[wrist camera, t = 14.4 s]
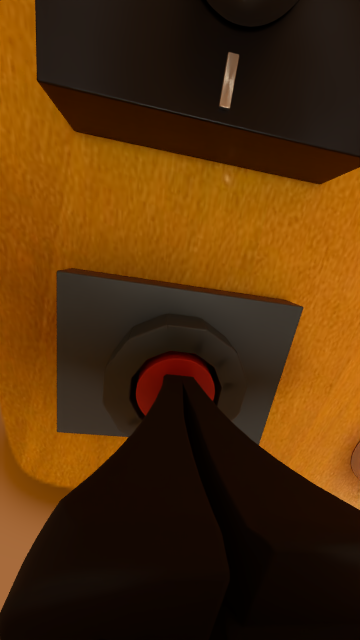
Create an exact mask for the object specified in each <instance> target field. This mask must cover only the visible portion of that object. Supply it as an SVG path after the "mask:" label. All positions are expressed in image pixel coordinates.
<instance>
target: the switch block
mask: <svg viewBox="0 0 360 640" xmlns="http://www.w3.org/2000/svg"><path fill="white" fill-rule="evenodd" d="M302 310H303V307H302V306H299V305H297V304H294V303H292V302H289V301H287V300H281V299H274V298H268V297H261V296H254V295H248V294H241V293H234V292H228V291H221V290H214V289H207V288H201V287H194V286H187V285H181V284H174V283H167V282H160V281H154V280H147V279H140V278H134V277H127V276H120V275H113V274H107V273H100V272H93V271H87V270H80V269H73V268H71V269H66V270H60V271H57V432H64V433H79V434H93V435H108V436H122V437H130V435H131V434H132V433H133V432H134V431H135V429H136V428H137V427H138V426H139V424H140V423H141V422H142V420H143V419H144V417H145V415H144V413H143V412H142V411H141V409H140V408H139V406H138V403H137V400H136V388H137V383H138V378H139V373H140V368H141V366H142V365H143V364H144V363H145V361H146V360H147V359H150V358H152V357H155V356H158V355H160V354H163V353H165V352H168V351H176V352H185V353H194V354H196V355H198V356H199V357H201V358H202V359H203V360H205V361H206V363H207V366H208V369H209V371H210V374H211V377H212V379H213V382H214V387H215V395H214V399H213V402H214V403H215V405H216V406H217V407H218V408H219V409H220V410H221V411H222V412H223V413H224V414H225V415H226V416H227V417H228V418H229V419H230V420H231V421H232V422H233V423H234V424H235V425H236V426H237V427H238V428H239V429H240V430H241V431H242V432H243V433H245V434H246V435H247V436H248V437H249V438H250V439H251V440H253V441H254V442H255V443H256V444H258V445H259V442H260V439H261V436H262V433H263V430H264V427H265V424H266V421H267V418H268V415H269V411H270V408H271V405H272V402H273V399H274V396H275V393H276V390H277V387H278V384H279V381H280V378H281V375H282V372H283V368H284V365H285V362H286V359H287V356H288V353H289V350H290V347H291V344H292V341H293V338H294V335H295V332H296V329H297V326H298V322H299V319H300V316H301V313H302Z"/></svg>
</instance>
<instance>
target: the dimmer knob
mask: <svg viewBox="0 0 360 640" xmlns="http://www.w3.org/2000/svg"><path fill="white" fill-rule="evenodd" d="M206 1H207V2H208V3H209V4H210V6H211V7H212V8H213V9H214V10H215V11H216V12H217V13H218V14H219V15H221V16H222V17H224V18H225V19H226V20H228V21H230V22H232V23H234V24H238V25H241V26H248V27H254V26H261V25H265V24H268V23H270V22H273V21H275V20H276V19H278V18H280V17H281V16H283V15H284V14H285V13H286V12H287V11H289V10H290V9H291V8H292V7H293V6H294V5H295V3H296V2H297V1H298V0H206Z"/></svg>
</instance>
